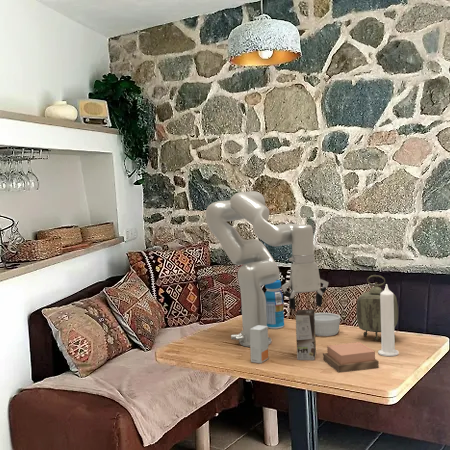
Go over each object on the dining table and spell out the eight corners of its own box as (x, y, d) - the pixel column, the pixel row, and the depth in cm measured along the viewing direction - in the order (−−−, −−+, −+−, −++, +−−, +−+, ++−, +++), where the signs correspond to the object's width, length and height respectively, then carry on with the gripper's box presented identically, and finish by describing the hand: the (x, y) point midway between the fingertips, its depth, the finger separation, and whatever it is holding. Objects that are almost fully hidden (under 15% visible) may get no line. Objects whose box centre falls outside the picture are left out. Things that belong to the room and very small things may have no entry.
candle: (399, 351, 214) (397, 282, 212) (398, 357, 207) (396, 286, 205) (378, 350, 216) (377, 282, 214) (377, 355, 210) (375, 285, 208)
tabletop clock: (398, 337, 231) (397, 273, 229) (394, 344, 223) (392, 278, 221) (361, 334, 238) (360, 272, 236) (355, 340, 230) (353, 276, 228)
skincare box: (261, 363, 207) (259, 330, 206) (250, 362, 210) (249, 328, 209) (269, 358, 212) (268, 325, 211) (258, 357, 215) (257, 324, 214)
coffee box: (315, 360, 208) (313, 315, 207) (296, 360, 210) (294, 315, 208) (316, 352, 217) (314, 309, 216) (298, 352, 218) (297, 309, 217)
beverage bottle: (264, 329, 253) (262, 282, 251) (266, 324, 261) (264, 279, 260) (284, 329, 252) (282, 282, 250) (285, 324, 260) (283, 278, 258)
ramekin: (341, 329, 248) (340, 312, 247) (340, 337, 235) (339, 320, 235) (309, 328, 251) (308, 312, 250) (306, 337, 238) (305, 320, 238)
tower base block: (338, 374, 195) (338, 365, 194) (323, 361, 208) (323, 353, 208) (378, 369, 197) (378, 361, 197) (360, 357, 211) (360, 349, 211)
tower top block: (341, 364, 195) (341, 355, 195) (327, 354, 207) (327, 345, 207) (375, 360, 198) (374, 351, 198) (359, 350, 210) (359, 341, 209)
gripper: (283, 263, 205) (285, 312, 206) (330, 258, 208) (333, 307, 209) (276, 260, 212) (279, 308, 213) (322, 256, 216) (325, 303, 217)
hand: (306, 307), depth 211 cm, fingers open, 9 cm apart
